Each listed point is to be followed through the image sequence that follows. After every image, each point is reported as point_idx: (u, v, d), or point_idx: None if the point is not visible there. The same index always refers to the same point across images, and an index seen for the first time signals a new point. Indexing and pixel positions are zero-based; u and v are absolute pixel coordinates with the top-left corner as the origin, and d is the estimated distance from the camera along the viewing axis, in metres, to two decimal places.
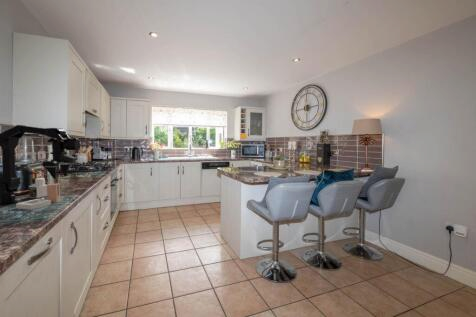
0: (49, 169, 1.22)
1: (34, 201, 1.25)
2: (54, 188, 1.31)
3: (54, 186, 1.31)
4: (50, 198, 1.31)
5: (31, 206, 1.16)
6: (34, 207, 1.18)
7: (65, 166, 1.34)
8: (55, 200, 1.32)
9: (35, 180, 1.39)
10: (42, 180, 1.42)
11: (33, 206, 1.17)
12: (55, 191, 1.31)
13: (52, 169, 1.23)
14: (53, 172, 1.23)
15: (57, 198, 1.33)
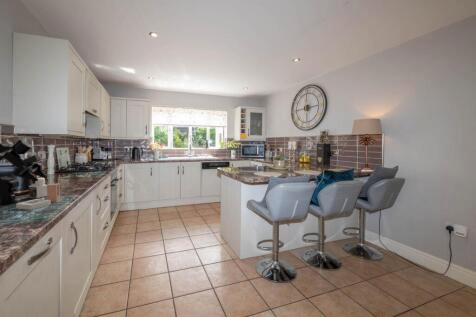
0: (24, 176, 1.23)
1: (34, 201, 1.25)
2: (54, 188, 1.31)
3: (54, 186, 1.31)
4: (50, 198, 1.31)
5: (31, 206, 1.16)
6: (34, 207, 1.18)
7: (37, 170, 1.34)
8: (55, 200, 1.32)
9: None
10: (42, 180, 1.42)
11: (33, 206, 1.17)
12: (55, 191, 1.31)
13: (27, 174, 1.24)
14: (30, 175, 1.24)
15: (57, 198, 1.33)
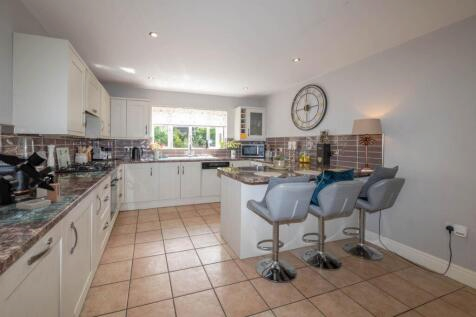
0: (42, 186, 1.28)
1: (34, 201, 1.25)
2: (54, 188, 1.31)
3: (54, 186, 1.31)
4: (50, 198, 1.31)
5: (31, 206, 1.16)
6: (34, 207, 1.18)
7: (50, 182, 1.34)
8: (55, 200, 1.32)
9: None
10: None
11: (33, 206, 1.17)
12: (55, 191, 1.31)
13: (45, 185, 1.28)
14: (48, 186, 1.29)
15: (57, 198, 1.33)
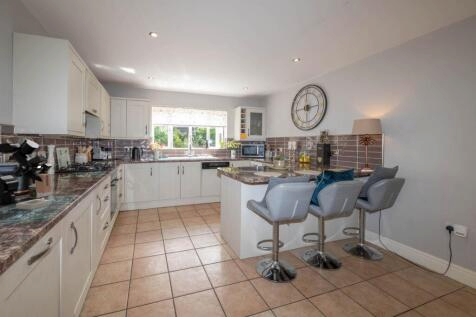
0: (30, 176, 1.22)
1: (34, 201, 1.25)
2: (42, 178, 1.24)
3: (42, 176, 1.23)
4: (38, 189, 1.24)
5: (31, 206, 1.16)
6: (34, 207, 1.18)
7: (42, 172, 1.28)
8: (43, 191, 1.24)
9: (35, 180, 1.39)
10: None
11: (33, 206, 1.17)
12: (43, 182, 1.24)
13: (32, 174, 1.22)
14: (35, 176, 1.22)
15: (45, 189, 1.25)
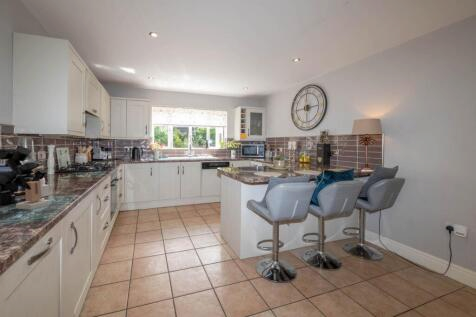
0: (19, 183, 1.18)
1: (34, 201, 1.25)
2: (30, 186, 1.19)
3: (30, 184, 1.19)
4: (27, 197, 1.20)
5: (31, 206, 1.16)
6: (34, 207, 1.18)
7: (34, 179, 1.24)
8: (31, 200, 1.19)
9: None
10: (42, 180, 1.42)
11: (33, 206, 1.17)
12: (31, 190, 1.19)
13: (21, 182, 1.18)
14: (23, 184, 1.18)
15: (34, 198, 1.20)
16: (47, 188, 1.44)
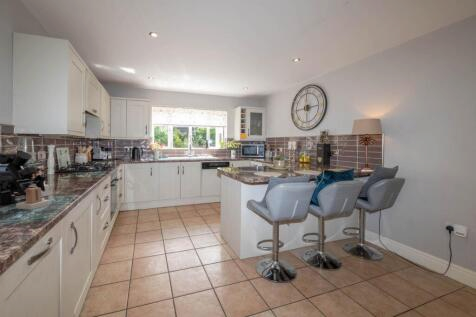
0: (14, 189, 1.16)
1: None
2: (30, 193, 1.19)
3: (30, 191, 1.19)
4: (28, 203, 1.20)
5: (31, 206, 1.16)
6: (34, 207, 1.18)
7: (39, 183, 1.27)
8: None
9: None
10: None
11: (33, 206, 1.17)
12: (31, 196, 1.19)
13: (16, 187, 1.16)
14: (19, 189, 1.16)
15: None
16: (47, 188, 1.44)
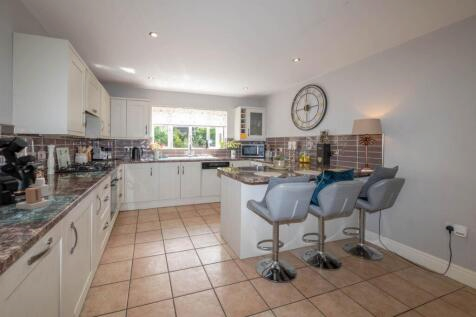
0: (11, 173, 1.18)
1: None
2: (30, 193, 1.19)
3: (30, 191, 1.19)
4: (28, 203, 1.20)
5: (31, 206, 1.16)
6: (34, 207, 1.18)
7: (30, 172, 1.29)
8: None
9: None
10: (42, 180, 1.42)
11: (33, 206, 1.17)
12: (31, 196, 1.19)
13: (14, 172, 1.18)
14: (17, 174, 1.18)
15: None
16: (47, 188, 1.44)
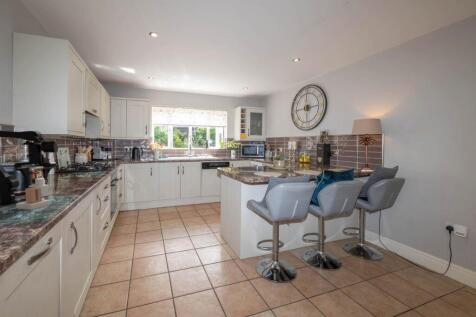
0: (46, 170, 1.29)
1: None
2: (30, 193, 1.19)
3: (30, 191, 1.19)
4: (28, 203, 1.20)
5: (31, 206, 1.16)
6: (34, 207, 1.18)
7: (26, 169, 1.29)
8: None
9: (35, 180, 1.39)
10: (42, 180, 1.42)
11: (33, 206, 1.17)
12: (31, 196, 1.19)
13: (46, 170, 1.31)
14: (47, 173, 1.31)
15: None
16: (47, 188, 1.44)
